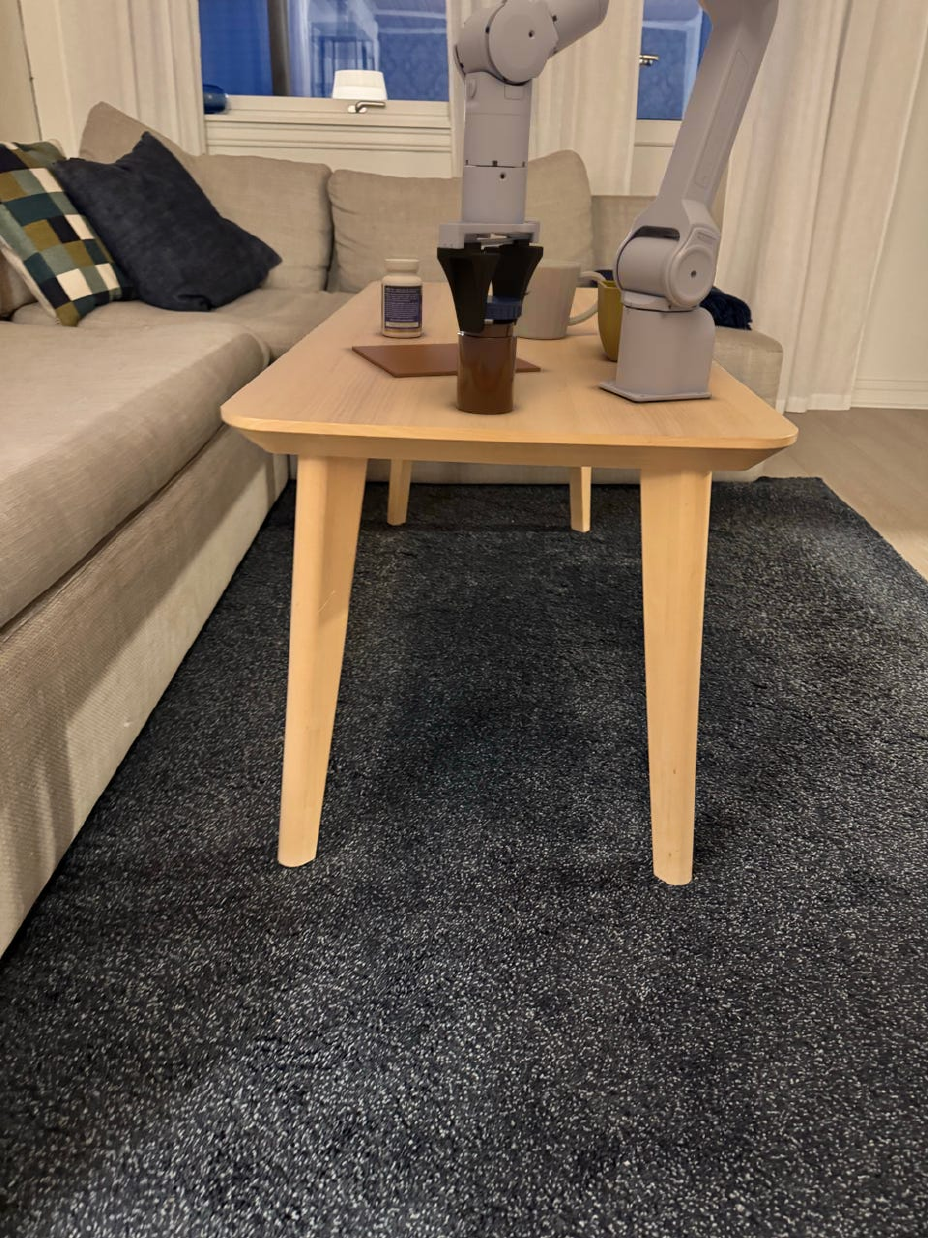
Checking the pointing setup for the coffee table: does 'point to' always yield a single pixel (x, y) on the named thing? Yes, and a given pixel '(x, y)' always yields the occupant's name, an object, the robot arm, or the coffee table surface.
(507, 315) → the lid
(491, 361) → the jar
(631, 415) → the coffee table surface
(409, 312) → the pill bottle
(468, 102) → the robot arm
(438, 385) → the coffee table surface
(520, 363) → the mat
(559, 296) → the mug
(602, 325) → the flower pot
